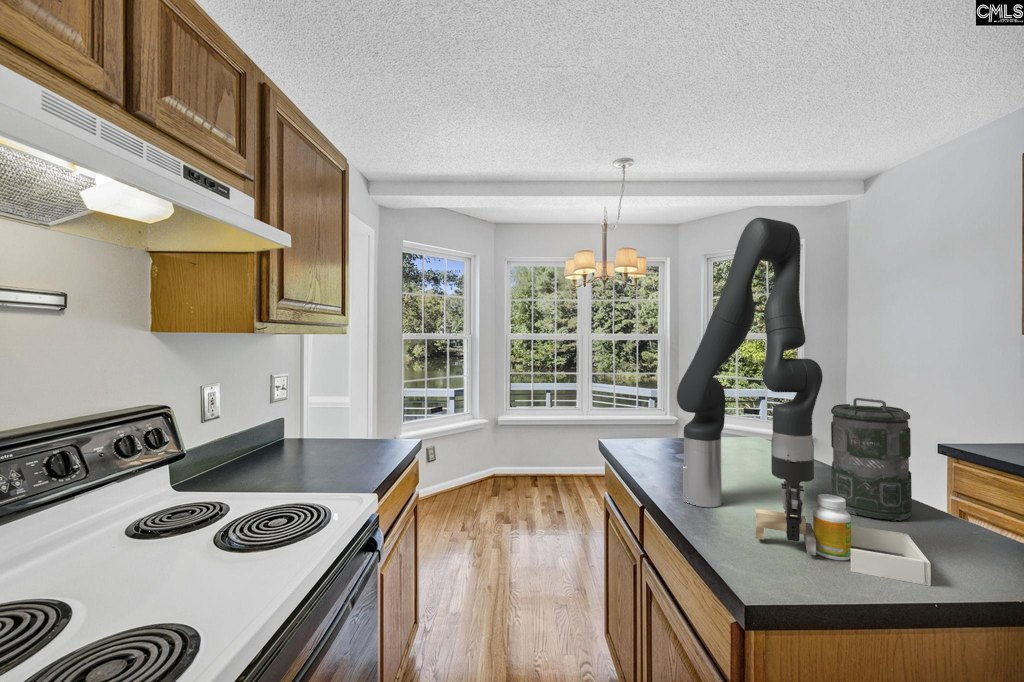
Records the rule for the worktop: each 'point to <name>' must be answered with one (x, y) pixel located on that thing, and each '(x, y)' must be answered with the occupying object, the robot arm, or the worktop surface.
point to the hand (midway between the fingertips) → (792, 537)
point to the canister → (872, 460)
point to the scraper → (784, 527)
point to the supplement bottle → (832, 527)
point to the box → (888, 556)
